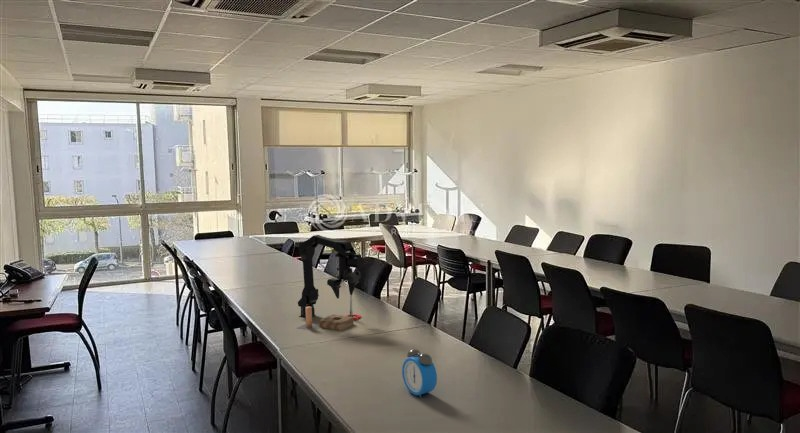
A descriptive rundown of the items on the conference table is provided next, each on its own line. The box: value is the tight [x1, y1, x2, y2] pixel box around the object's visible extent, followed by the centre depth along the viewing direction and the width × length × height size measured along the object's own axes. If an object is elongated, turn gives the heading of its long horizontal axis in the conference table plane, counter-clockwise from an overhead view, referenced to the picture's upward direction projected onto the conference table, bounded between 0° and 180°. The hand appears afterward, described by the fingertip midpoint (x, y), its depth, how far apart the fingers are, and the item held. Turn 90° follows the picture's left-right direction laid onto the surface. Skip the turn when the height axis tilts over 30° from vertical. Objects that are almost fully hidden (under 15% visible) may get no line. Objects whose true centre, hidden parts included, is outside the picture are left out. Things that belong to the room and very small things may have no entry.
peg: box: [305, 307, 313, 328], centre depth 282 cm, size 3×3×10 cm
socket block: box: [319, 313, 354, 331], centre depth 285 cm, size 12×12×4 cm
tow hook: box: [345, 294, 362, 321], centre depth 300 cm, size 8×13×9 cm
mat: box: [296, 323, 320, 332], centre depth 283 cm, size 10×8×1 cm
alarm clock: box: [401, 348, 438, 398], centre depth 201 cm, size 13×6×15 cm, turn 35°
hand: (344, 296), depth 288 cm, fingers open, 9 cm apart
